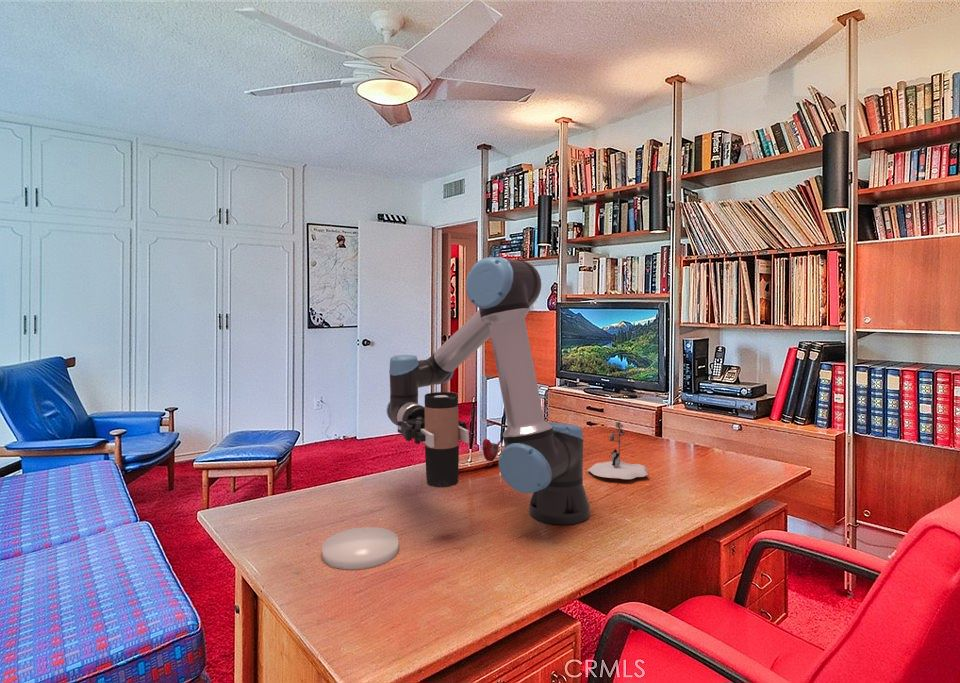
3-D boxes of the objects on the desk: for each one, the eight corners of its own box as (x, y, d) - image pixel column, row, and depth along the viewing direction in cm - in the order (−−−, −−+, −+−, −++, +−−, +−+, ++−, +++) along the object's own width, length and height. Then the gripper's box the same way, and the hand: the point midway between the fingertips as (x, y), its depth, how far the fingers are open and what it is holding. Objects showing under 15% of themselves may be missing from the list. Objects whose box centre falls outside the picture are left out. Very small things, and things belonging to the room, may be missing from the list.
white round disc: (413, 544, 117) (413, 535, 117) (364, 576, 103) (363, 566, 103) (358, 530, 125) (358, 522, 125) (305, 558, 111) (305, 549, 111)
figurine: (641, 485, 152) (642, 428, 153) (580, 476, 161) (581, 423, 162) (656, 473, 170) (656, 422, 170) (600, 465, 179) (601, 417, 179)
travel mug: (425, 477, 123) (424, 392, 122) (458, 476, 124) (457, 391, 122) (425, 488, 115) (423, 397, 114) (460, 487, 116) (459, 397, 115)
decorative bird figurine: (479, 471, 170) (478, 440, 169) (497, 456, 186) (497, 428, 185) (487, 472, 169) (487, 441, 168) (505, 457, 185) (505, 429, 184)
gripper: (452, 429, 140) (492, 450, 119) (377, 438, 131) (405, 462, 110) (452, 401, 139) (491, 417, 119) (376, 408, 130) (404, 426, 110)
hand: (450, 438), depth 114 cm, fingers closed on travel mug, 7 cm apart
